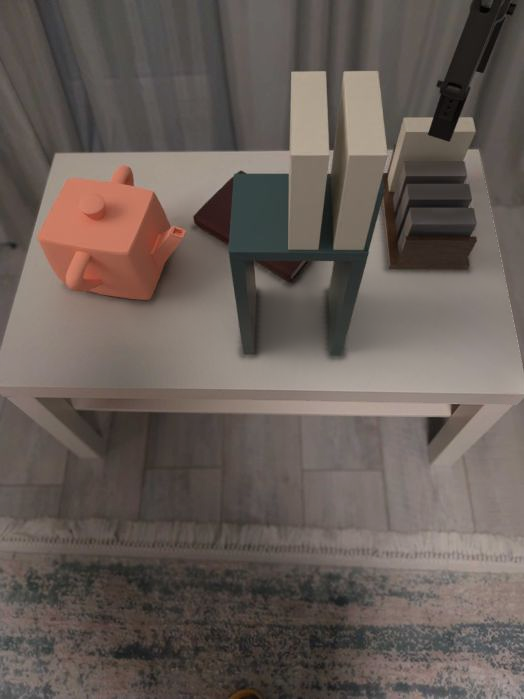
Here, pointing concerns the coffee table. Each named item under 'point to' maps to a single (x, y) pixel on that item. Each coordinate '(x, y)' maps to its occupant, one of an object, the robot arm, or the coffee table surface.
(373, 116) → the teal stand with panels
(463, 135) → the beige rectangular block
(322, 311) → the coffee table surface
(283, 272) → the book
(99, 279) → the teapot
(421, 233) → the brown rack
